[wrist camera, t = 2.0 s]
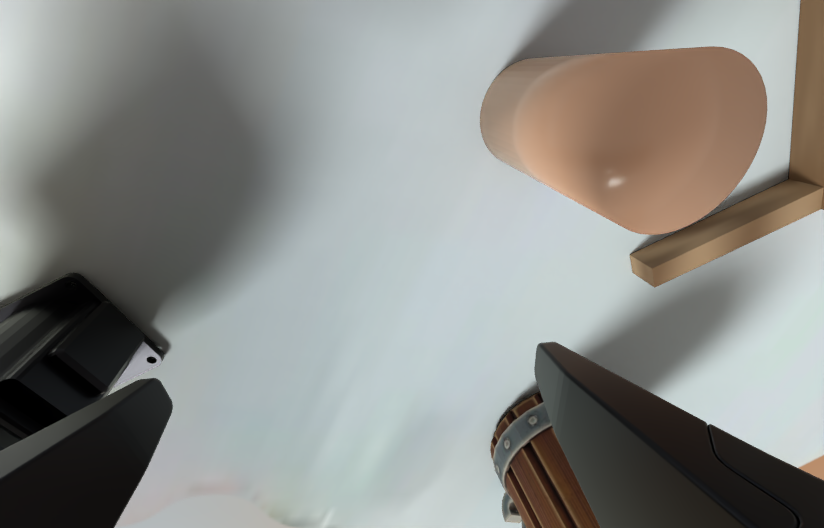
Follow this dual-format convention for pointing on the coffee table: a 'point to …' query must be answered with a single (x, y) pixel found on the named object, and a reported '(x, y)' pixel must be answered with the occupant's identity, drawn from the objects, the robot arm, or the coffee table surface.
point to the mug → (537, 472)
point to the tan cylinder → (631, 130)
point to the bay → (775, 207)
